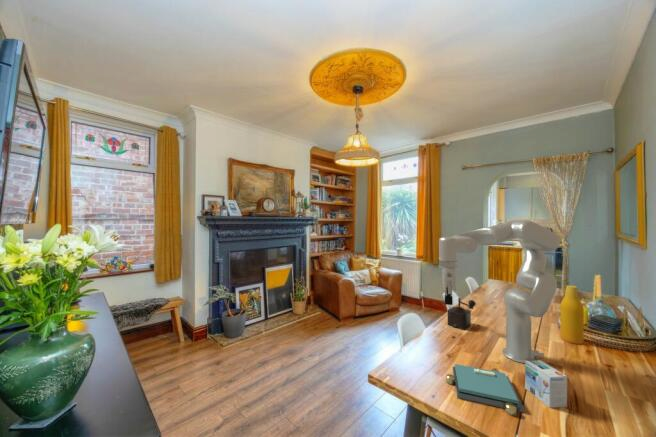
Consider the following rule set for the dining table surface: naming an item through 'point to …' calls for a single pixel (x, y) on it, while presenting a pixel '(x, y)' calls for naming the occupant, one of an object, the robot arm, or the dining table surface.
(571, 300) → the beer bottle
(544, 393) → the light bulb box
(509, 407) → the base
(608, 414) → the dining table surface
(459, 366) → the plate
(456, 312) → the black box
